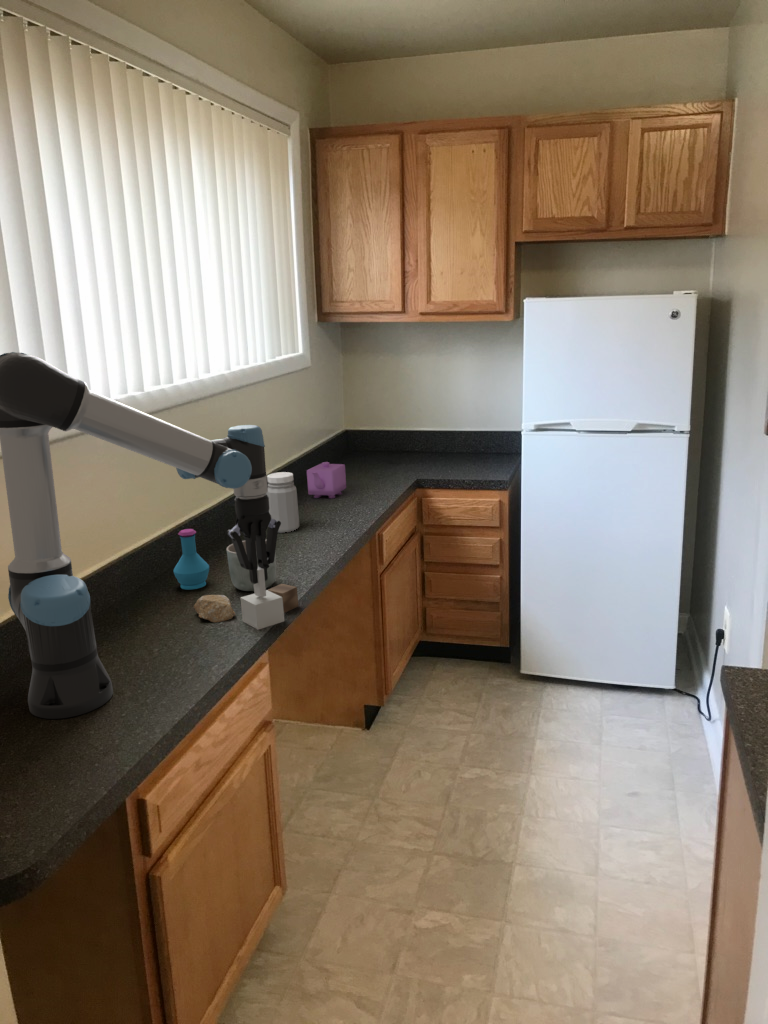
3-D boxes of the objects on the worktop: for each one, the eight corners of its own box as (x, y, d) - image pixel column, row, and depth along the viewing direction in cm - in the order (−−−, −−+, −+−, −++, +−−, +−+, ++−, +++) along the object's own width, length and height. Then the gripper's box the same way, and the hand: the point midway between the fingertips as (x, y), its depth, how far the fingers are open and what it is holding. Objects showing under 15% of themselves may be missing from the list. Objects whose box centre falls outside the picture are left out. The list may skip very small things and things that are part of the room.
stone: (227, 605, 206) (225, 588, 205) (237, 619, 197) (235, 601, 196) (193, 612, 203) (191, 594, 202) (201, 626, 194) (199, 608, 193)
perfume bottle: (192, 577, 228) (186, 524, 224) (218, 582, 223) (212, 527, 219) (168, 588, 220) (161, 533, 217) (194, 593, 216) (187, 537, 212)
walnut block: (284, 613, 199) (282, 593, 197) (269, 609, 202) (267, 589, 200) (298, 606, 203) (296, 586, 201) (283, 602, 206) (281, 583, 204)
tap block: (257, 630, 190) (255, 605, 188) (242, 621, 195) (240, 597, 193) (284, 621, 194) (282, 597, 192) (269, 613, 199) (266, 589, 198)
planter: (242, 598, 210) (238, 556, 207) (223, 585, 220) (218, 545, 217) (286, 586, 217) (283, 546, 214) (265, 575, 227) (262, 536, 224)
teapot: (325, 489, 323) (322, 457, 320) (349, 490, 319) (347, 458, 316) (302, 502, 305) (299, 468, 302) (327, 503, 301) (324, 469, 298)
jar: (295, 533, 265) (291, 477, 260) (265, 533, 267) (260, 478, 262) (303, 525, 274) (298, 471, 270) (274, 525, 276) (269, 471, 271)
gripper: (233, 503, 180) (243, 606, 186) (285, 492, 188) (293, 592, 194) (216, 498, 186) (227, 598, 192) (267, 487, 193) (276, 584, 199)
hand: (260, 595), depth 193 cm, fingers closed
